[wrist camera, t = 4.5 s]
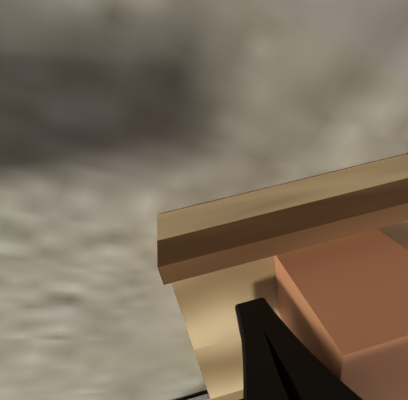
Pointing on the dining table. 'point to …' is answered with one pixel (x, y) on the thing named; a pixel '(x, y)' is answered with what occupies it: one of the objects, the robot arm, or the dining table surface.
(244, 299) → the trap board
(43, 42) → the dining table surface
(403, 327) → the block
